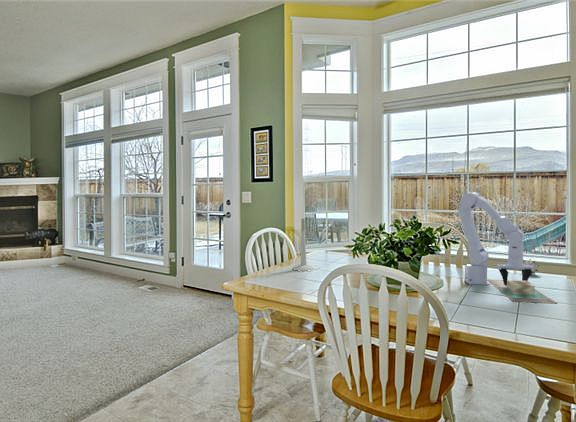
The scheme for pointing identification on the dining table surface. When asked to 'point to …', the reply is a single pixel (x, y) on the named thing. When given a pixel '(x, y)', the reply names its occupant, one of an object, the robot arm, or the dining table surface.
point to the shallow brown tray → (520, 297)
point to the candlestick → (303, 252)
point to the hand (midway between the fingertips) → (514, 285)
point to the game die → (529, 262)
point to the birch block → (520, 287)
